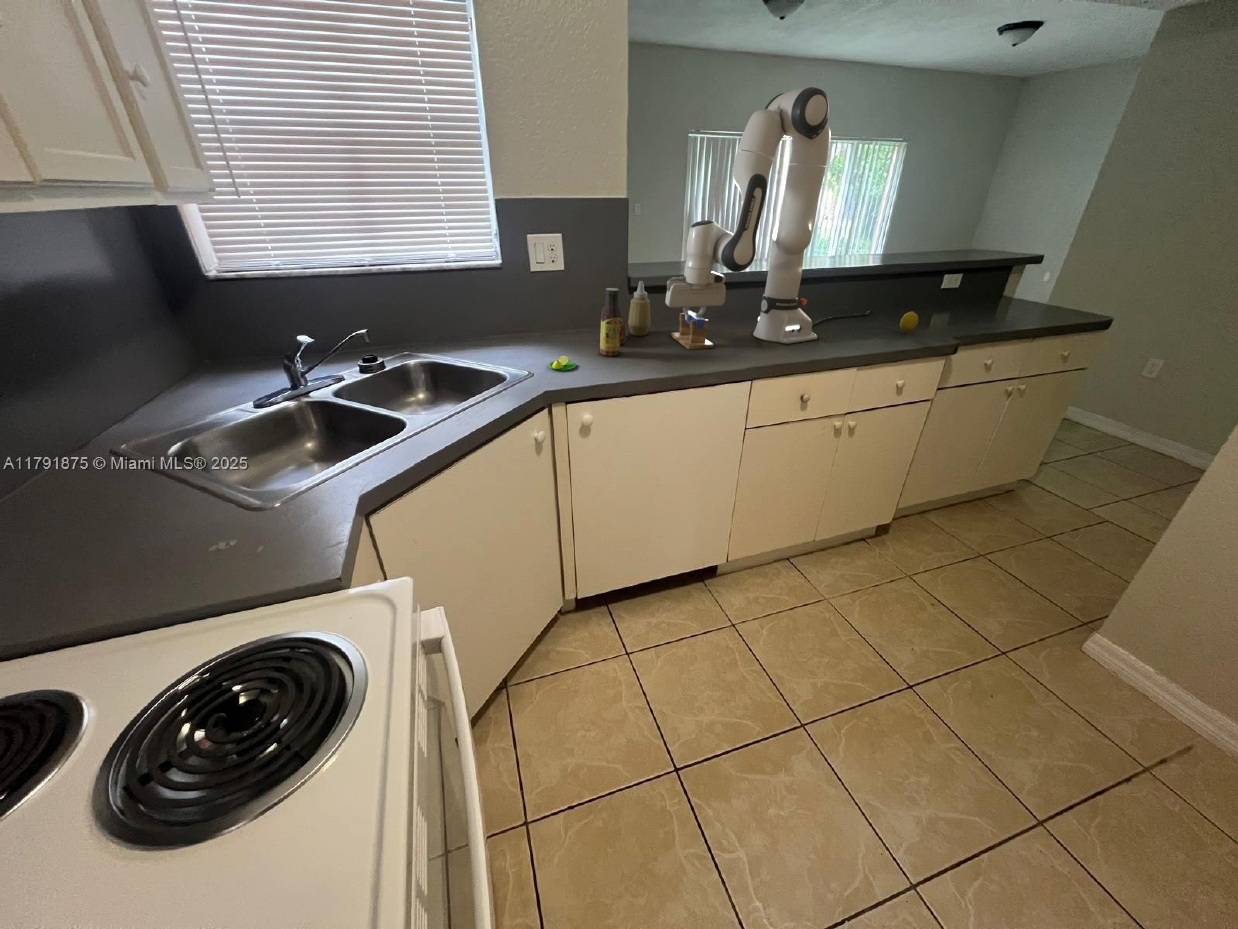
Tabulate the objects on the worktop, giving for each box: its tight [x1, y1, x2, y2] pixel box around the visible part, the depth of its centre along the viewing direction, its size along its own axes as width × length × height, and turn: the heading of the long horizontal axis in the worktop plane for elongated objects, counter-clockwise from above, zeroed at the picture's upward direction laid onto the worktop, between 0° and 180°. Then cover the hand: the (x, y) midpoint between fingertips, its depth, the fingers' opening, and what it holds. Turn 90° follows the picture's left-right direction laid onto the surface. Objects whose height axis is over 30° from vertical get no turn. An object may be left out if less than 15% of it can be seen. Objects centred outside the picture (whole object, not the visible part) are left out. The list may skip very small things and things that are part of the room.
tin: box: [620, 318, 627, 345], centre depth 165 cm, size 15×3×8 cm, turn 20°
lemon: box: [899, 311, 919, 334], centre depth 181 cm, size 6×6×8 cm
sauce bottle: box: [599, 287, 622, 357], centre depth 150 cm, size 7×6×20 cm
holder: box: [670, 312, 715, 350], centre depth 166 cm, size 16×9×9 cm, turn 16°
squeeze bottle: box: [627, 280, 652, 337], centre depth 171 cm, size 8×8×18 cm
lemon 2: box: [548, 355, 577, 372], centre depth 143 cm, size 8×8×3 cm
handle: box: [682, 310, 705, 329], centre depth 164 cm, size 12×3×3 cm, turn 15°
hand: (693, 319), depth 164 cm, fingers closed on handle, 3 cm apart
